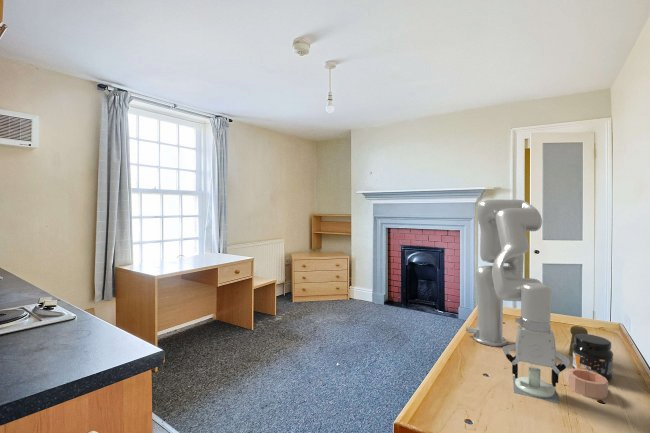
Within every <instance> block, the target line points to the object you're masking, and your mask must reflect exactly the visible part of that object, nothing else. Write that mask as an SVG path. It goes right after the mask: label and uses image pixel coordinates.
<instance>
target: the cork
mask: <svg viewBox="0 0 650 433" xmlns="http://www.w3.org/2000/svg"><path fill="white" fill-rule="evenodd" d="M569 332H570V334H571V339H570V343H569V344H570V345H569V349H568V355H569V356H570V357H572V358H573V347H572V345H573V344H574V343H575V341H574V337H575V335H576V334H589V333H588V330H587V328H586V327H583V326H577V325H573V326H571V327H570V329H569Z"/></svg>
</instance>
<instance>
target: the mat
mask: <svg viewBox="0 0 650 433" xmlns="http://www.w3.org/2000/svg"><path fill="white" fill-rule="evenodd" d="M518 378H519V376H518ZM516 379H517V378H515V375H512V381H513V382H512V384H513V393H514V394H517V395H523V396H525V397H529V398H530V397H531V398H534V399H539V400H544V401H547V402H552V403H555V404H560V401H559V398H558V395H557V392H556V387H554V386H553V385H552V383H548V384H549V385H551V386H552V387H553V388H554V396H553V397H551V398H539V397H534V396H531V395H528V394H526V393H524V392H522V391H520V390H519V389H518V388H517V387H516V385H515V380H516Z"/></svg>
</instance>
